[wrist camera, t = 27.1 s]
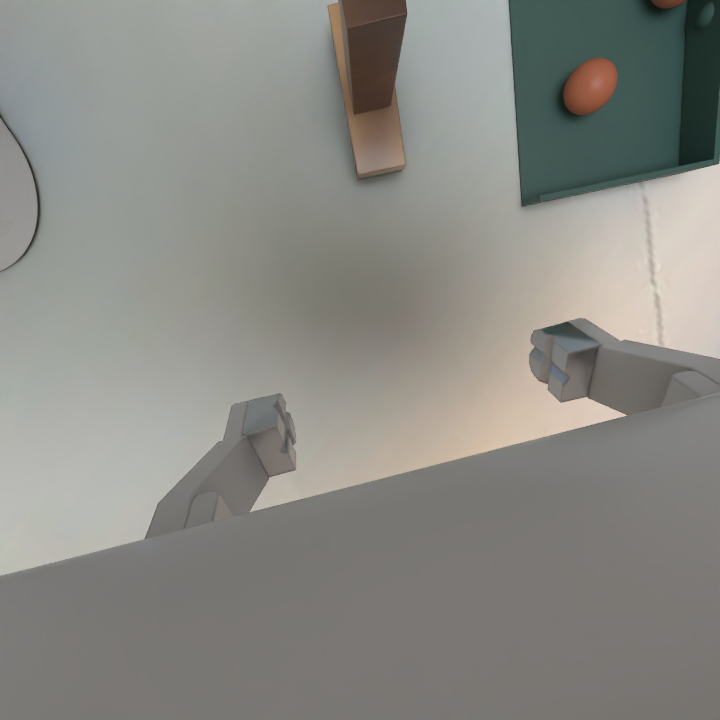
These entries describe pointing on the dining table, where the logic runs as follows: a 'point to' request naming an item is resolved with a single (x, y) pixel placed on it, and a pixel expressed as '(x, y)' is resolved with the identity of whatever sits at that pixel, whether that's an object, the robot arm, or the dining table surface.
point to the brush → (370, 79)
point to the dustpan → (629, 101)
